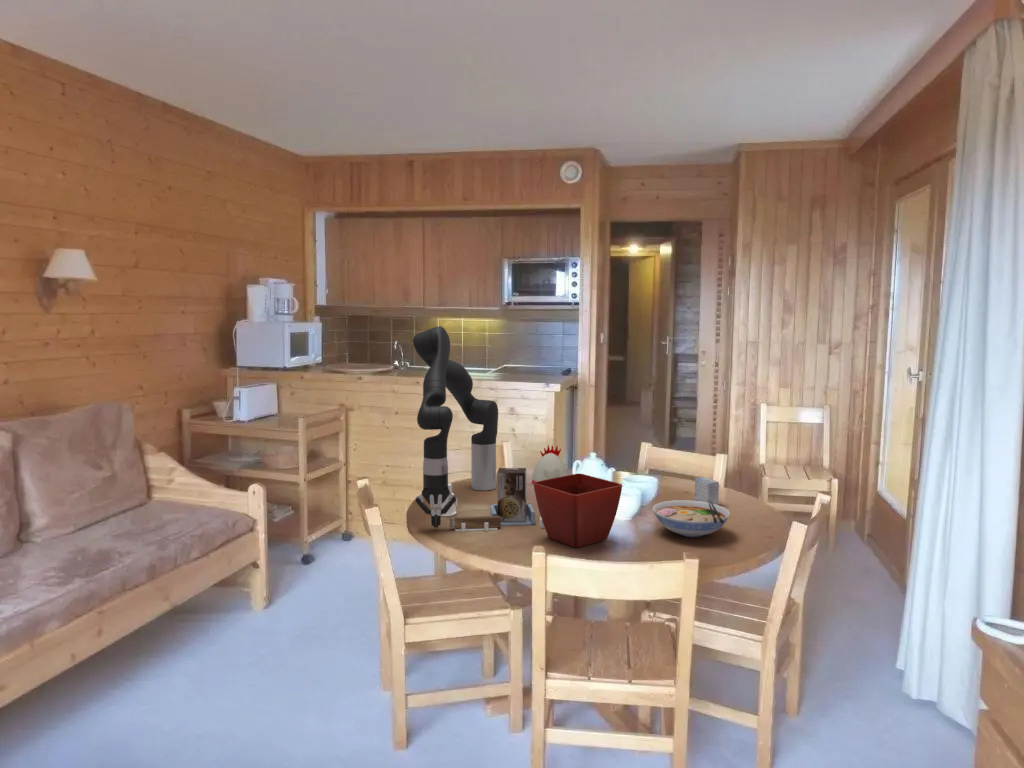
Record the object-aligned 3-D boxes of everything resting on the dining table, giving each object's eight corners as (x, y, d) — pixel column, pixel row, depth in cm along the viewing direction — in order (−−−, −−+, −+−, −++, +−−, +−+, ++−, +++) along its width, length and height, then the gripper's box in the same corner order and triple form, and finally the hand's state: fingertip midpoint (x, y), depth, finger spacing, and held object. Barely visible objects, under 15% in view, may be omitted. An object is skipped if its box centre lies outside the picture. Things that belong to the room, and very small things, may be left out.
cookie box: (526, 516, 238) (527, 467, 236) (525, 522, 231) (525, 472, 229) (498, 515, 238) (498, 467, 236) (496, 521, 232) (496, 471, 230)
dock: (489, 516, 239) (489, 504, 239) (530, 515, 241) (530, 503, 240) (492, 526, 229) (492, 513, 228) (535, 524, 230) (535, 512, 230)
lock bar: (449, 526, 227) (449, 517, 226) (499, 524, 228) (499, 515, 228) (450, 529, 224) (450, 519, 224) (500, 527, 226) (500, 518, 225)
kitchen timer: (569, 487, 277) (569, 448, 275) (533, 487, 276) (533, 448, 275) (566, 478, 290) (566, 441, 289) (531, 478, 290) (531, 441, 288)
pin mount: (454, 526, 228) (454, 518, 228) (542, 523, 232) (542, 515, 231) (455, 532, 223) (455, 524, 222) (545, 529, 226) (545, 521, 225)
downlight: (453, 509, 247) (452, 480, 246) (461, 514, 241) (459, 485, 240) (431, 513, 244) (429, 483, 243) (438, 518, 238) (436, 488, 236)
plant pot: (531, 536, 219) (531, 481, 217) (578, 525, 230) (579, 472, 228) (574, 554, 204) (575, 495, 202) (623, 540, 215) (624, 484, 213)
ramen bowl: (651, 519, 236) (651, 494, 235) (724, 523, 232) (725, 498, 231) (652, 545, 211) (653, 517, 210) (734, 549, 208) (735, 521, 207)
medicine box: (718, 506, 251) (719, 481, 250) (707, 507, 250) (708, 482, 249) (704, 500, 259) (705, 476, 258) (694, 502, 257) (694, 477, 256)
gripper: (413, 474, 218) (414, 531, 220) (457, 473, 220) (458, 529, 222) (413, 469, 226) (414, 523, 228) (456, 468, 227) (457, 522, 229)
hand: (436, 526), depth 225 cm, fingers closed
